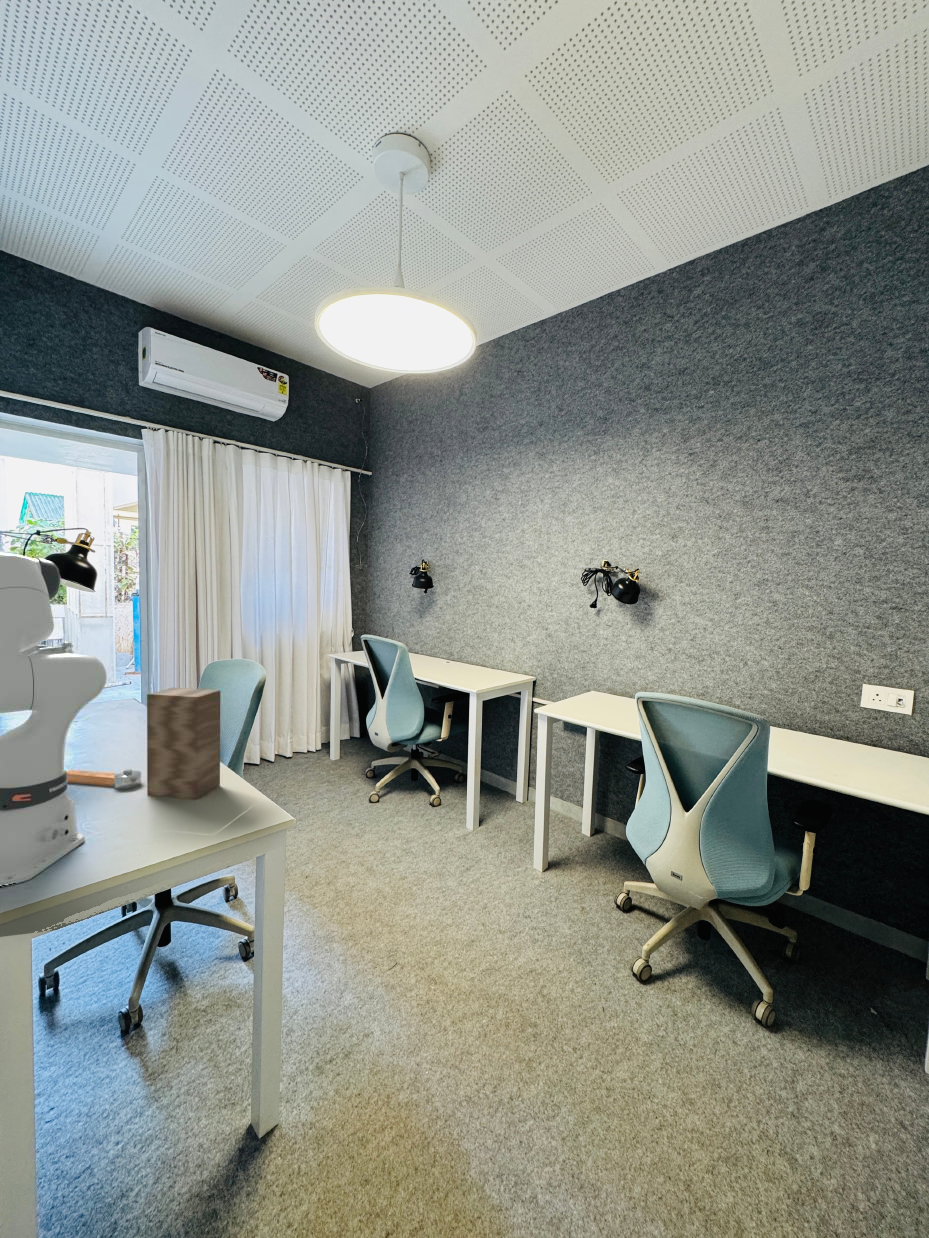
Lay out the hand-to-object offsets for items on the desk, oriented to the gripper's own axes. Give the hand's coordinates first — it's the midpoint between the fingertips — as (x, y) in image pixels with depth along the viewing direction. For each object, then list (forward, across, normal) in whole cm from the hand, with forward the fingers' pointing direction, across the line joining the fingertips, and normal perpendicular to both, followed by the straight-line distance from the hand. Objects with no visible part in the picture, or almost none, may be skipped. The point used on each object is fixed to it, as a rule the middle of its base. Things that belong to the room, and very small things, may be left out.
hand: (53, 645), depth 133 cm
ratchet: (-6, 0, +39) cm, 39 cm away
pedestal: (+15, 0, +51) cm, 53 cm away
